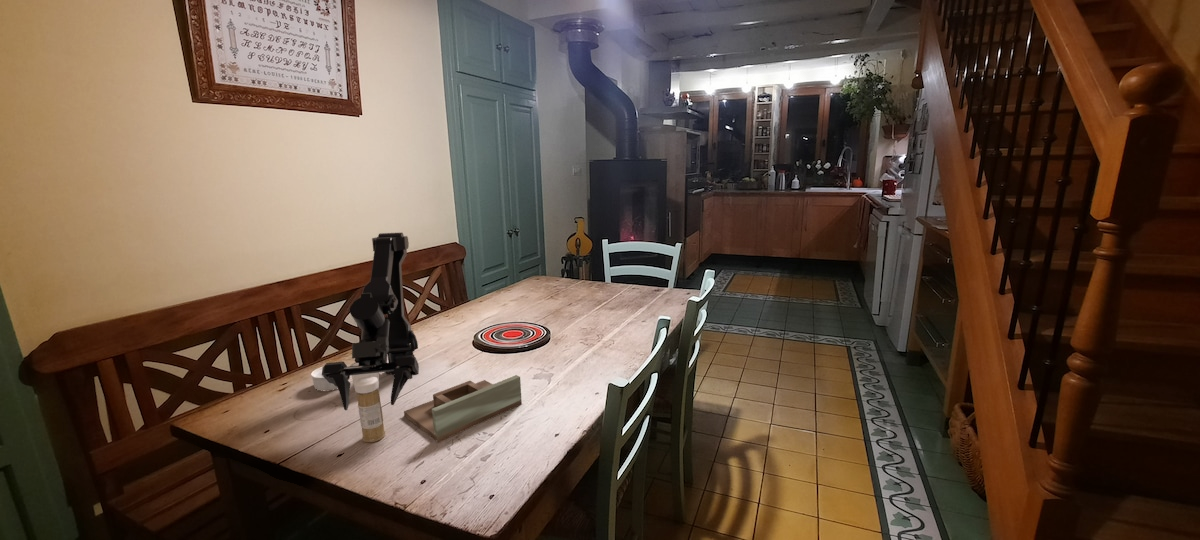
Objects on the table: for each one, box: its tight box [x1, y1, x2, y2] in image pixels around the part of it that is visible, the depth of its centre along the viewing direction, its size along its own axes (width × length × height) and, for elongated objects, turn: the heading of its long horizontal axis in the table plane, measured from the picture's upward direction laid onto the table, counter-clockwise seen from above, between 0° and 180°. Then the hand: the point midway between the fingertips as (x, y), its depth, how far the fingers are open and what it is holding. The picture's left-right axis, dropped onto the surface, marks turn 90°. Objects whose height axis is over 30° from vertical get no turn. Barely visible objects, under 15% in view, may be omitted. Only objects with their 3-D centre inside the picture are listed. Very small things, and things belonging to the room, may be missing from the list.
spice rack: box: [403, 374, 523, 443], centre depth 116 cm, size 16×22×7 cm
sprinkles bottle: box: [353, 376, 386, 443], centre depth 104 cm, size 5×5×13 cm
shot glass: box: [349, 361, 380, 388], centre depth 127 cm, size 7×7×7 cm
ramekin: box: [310, 365, 349, 392], centre depth 130 cm, size 9×9×4 cm
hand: (369, 407), depth 103 cm, fingers open, 9 cm apart
